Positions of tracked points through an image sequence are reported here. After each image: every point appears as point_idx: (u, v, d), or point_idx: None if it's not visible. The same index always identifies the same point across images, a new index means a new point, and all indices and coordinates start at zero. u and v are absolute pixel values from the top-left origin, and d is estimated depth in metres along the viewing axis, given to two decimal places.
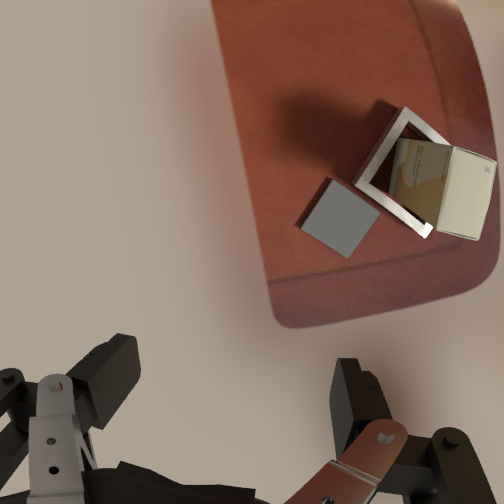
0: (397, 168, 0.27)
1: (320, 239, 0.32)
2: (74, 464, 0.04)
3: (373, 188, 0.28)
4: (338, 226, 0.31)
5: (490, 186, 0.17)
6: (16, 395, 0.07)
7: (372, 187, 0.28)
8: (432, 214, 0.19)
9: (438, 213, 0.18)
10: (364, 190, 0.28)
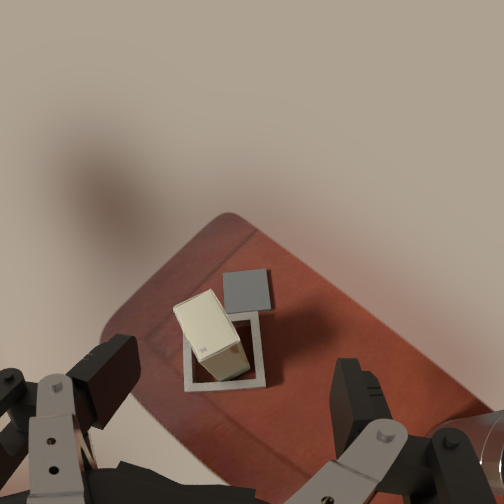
0: None
1: (249, 271, 0.43)
2: (74, 464, 0.04)
3: (244, 318, 0.38)
4: (244, 285, 0.42)
5: (192, 342, 0.27)
6: (16, 395, 0.07)
7: (245, 318, 0.38)
8: None
9: None
10: (249, 313, 0.38)
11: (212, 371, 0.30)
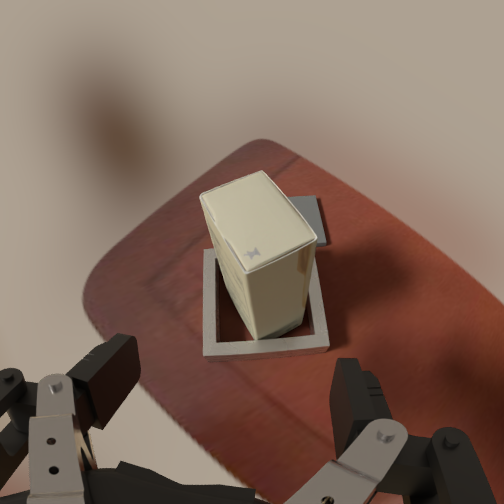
0: None
1: (293, 197, 0.32)
2: (74, 464, 0.04)
3: None
4: None
5: (232, 243, 0.16)
6: (16, 395, 0.07)
7: None
8: None
9: (272, 183, 0.18)
10: None
11: (257, 310, 0.19)
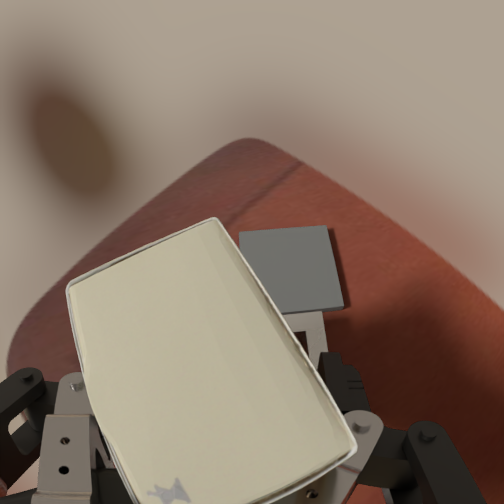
0: None
1: (293, 229, 0.21)
2: (85, 466, 0.04)
3: (292, 328, 0.16)
4: (285, 257, 0.20)
5: (119, 451, 0.04)
6: (36, 395, 0.07)
7: (295, 329, 0.16)
8: None
9: (240, 255, 0.07)
10: (302, 315, 0.16)
11: None
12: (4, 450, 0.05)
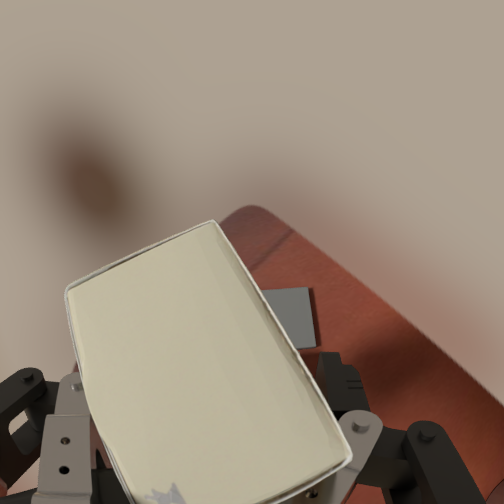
0: None
1: (284, 290, 0.30)
2: (85, 466, 0.04)
3: None
4: (277, 311, 0.29)
5: (117, 455, 0.04)
6: (36, 395, 0.07)
7: None
8: None
9: (239, 258, 0.07)
10: None
11: None
12: (4, 450, 0.05)
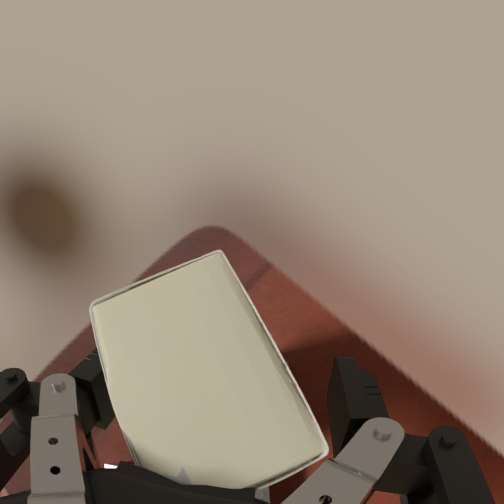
0: None
1: None
2: (76, 464, 0.04)
3: None
4: None
5: (136, 445, 0.06)
6: (19, 395, 0.07)
7: None
8: None
9: (241, 284, 0.08)
10: None
11: None
12: None
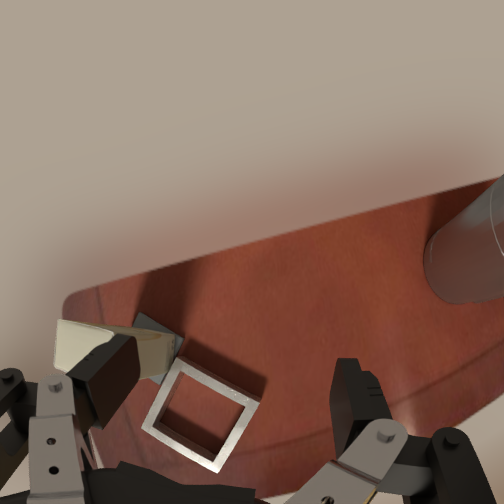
0: (142, 329, 0.31)
1: None
2: (74, 464, 0.04)
3: (176, 374, 0.29)
4: None
5: None
6: (16, 395, 0.07)
7: (176, 373, 0.29)
8: None
9: (69, 320, 0.21)
10: (173, 366, 0.30)
11: None
12: None
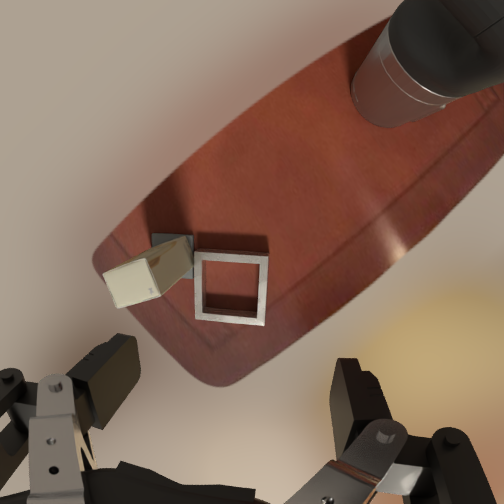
0: (161, 244, 0.40)
1: None
2: (74, 464, 0.04)
3: (200, 264, 0.40)
4: None
5: (145, 298, 0.31)
6: (16, 395, 0.07)
7: (200, 263, 0.40)
8: (112, 268, 0.32)
9: (111, 269, 0.31)
10: (195, 259, 0.40)
11: (176, 278, 0.35)
12: None
